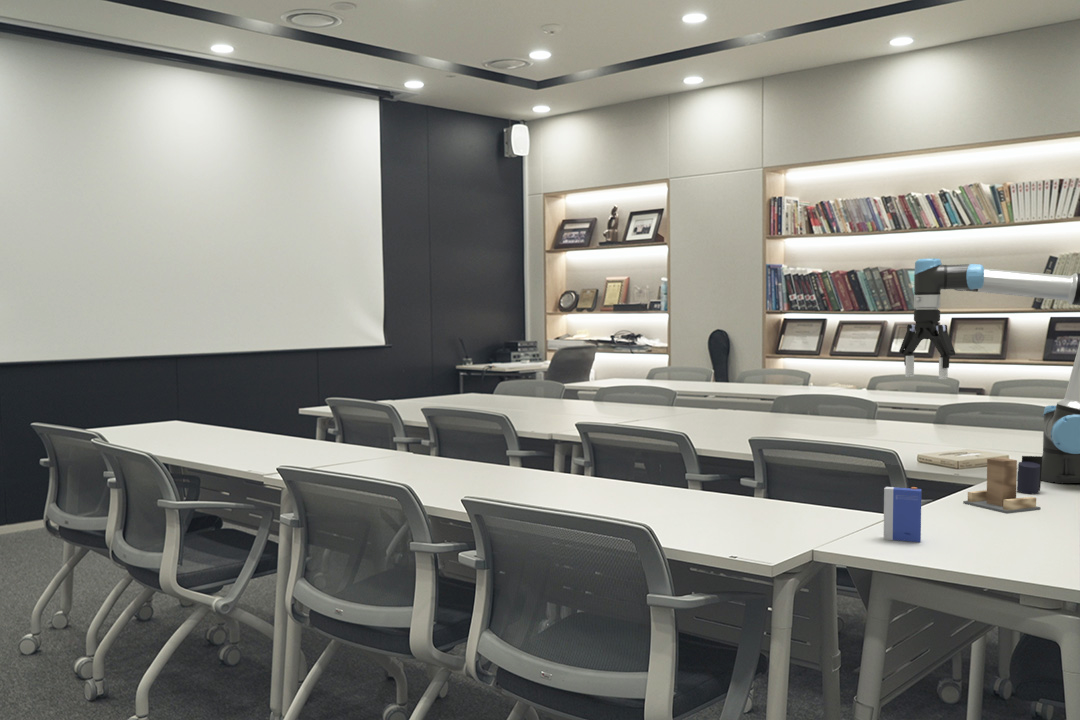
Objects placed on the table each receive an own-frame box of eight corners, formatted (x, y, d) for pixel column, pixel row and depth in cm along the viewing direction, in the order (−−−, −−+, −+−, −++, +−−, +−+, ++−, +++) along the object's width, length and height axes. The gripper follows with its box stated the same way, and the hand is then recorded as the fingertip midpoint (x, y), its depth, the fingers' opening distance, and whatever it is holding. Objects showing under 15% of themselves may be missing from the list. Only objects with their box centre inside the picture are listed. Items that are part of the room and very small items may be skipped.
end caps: (994, 498, 254) (994, 489, 254) (1036, 507, 242) (1036, 497, 242) (967, 501, 250) (967, 491, 250) (1008, 510, 238) (1008, 500, 238)
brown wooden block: (1000, 501, 249) (1001, 457, 248) (1016, 505, 244) (1016, 460, 244) (986, 503, 247) (987, 458, 247) (1002, 506, 243) (1003, 461, 242)
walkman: (920, 539, 210) (921, 487, 209) (920, 542, 207) (921, 489, 207) (884, 536, 213) (884, 485, 212) (883, 539, 210) (883, 487, 210)
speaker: (1018, 487, 271) (1020, 453, 269) (1040, 490, 268) (1042, 456, 266) (1014, 494, 264) (1017, 459, 263) (1037, 497, 261) (1040, 462, 260)
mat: (995, 499, 255) (996, 497, 254) (1040, 509, 242) (1040, 507, 242) (963, 503, 250) (963, 501, 250) (1006, 513, 237) (1006, 511, 237)
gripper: (888, 309, 294) (887, 375, 295) (949, 308, 271) (948, 380, 272) (906, 309, 297) (905, 375, 298) (968, 308, 274) (967, 379, 275)
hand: (925, 377), depth 285 cm, fingers open, 13 cm apart
